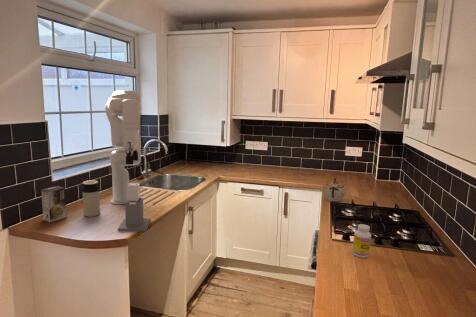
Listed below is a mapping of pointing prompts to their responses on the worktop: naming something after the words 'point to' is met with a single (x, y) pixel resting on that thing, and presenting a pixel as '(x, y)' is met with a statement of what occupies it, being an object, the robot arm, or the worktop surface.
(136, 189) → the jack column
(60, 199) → the coffee box
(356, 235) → the supplement bottle
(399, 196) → the worktop surface
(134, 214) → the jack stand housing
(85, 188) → the travel mug
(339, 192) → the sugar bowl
